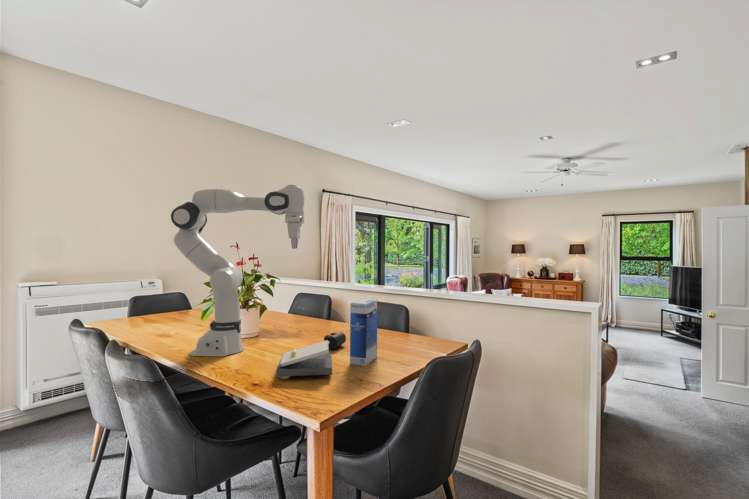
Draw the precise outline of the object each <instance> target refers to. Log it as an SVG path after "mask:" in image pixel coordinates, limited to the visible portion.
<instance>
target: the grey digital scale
mask: <svg viewBox="0 0 749 499" xmlns="http://www.w3.org/2000/svg"><path fill="white" fill-rule="evenodd" d="M332 354H333V353H330V352H329V353H326V354H323V355H320V356H316V357H313V358H309V359H306V360H303V361H299V362H296V363H293V364H289V365H286V366H283V367H278V365H279V363H278V365H277V367H276V370H275V374H276V375H275V376H276V377H280V380H281V381H284V382H285V381H290V380H291V377H296V376H297V377H300V376H301V377H302V376H303V377H305V376H323V375H326V376H327V375H328V376H329V375H333V362H332V360H333V359H332V358H333V357H332ZM280 360H281V358H280ZM280 360H279V361H280Z"/></svg>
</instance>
